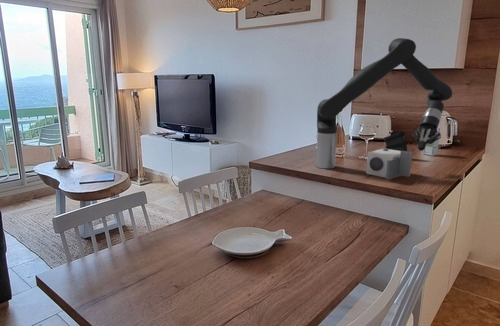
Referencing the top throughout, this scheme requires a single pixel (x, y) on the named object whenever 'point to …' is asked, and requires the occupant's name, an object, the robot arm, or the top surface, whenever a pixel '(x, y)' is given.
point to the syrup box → (432, 148)
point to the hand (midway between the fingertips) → (420, 149)
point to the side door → (399, 165)
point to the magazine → (396, 142)
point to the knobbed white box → (380, 161)
